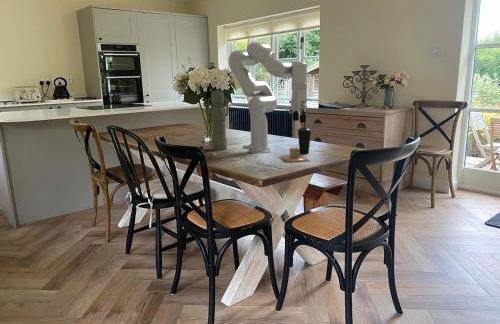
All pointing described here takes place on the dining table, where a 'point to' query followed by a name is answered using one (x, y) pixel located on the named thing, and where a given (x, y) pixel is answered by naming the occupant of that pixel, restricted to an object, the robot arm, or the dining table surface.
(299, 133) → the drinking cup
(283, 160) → the mat
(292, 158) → the lid
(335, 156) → the dining table surface
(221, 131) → the thermos
